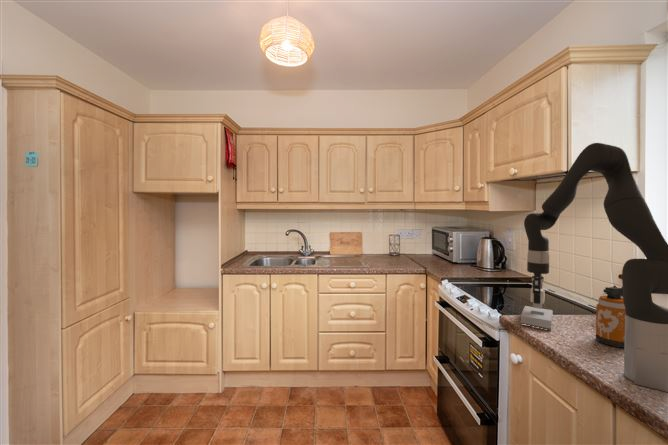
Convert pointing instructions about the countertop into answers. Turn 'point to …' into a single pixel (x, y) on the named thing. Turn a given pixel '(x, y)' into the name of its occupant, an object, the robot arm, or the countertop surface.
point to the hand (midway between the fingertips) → (537, 301)
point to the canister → (611, 317)
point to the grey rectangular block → (537, 317)
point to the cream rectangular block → (540, 298)
